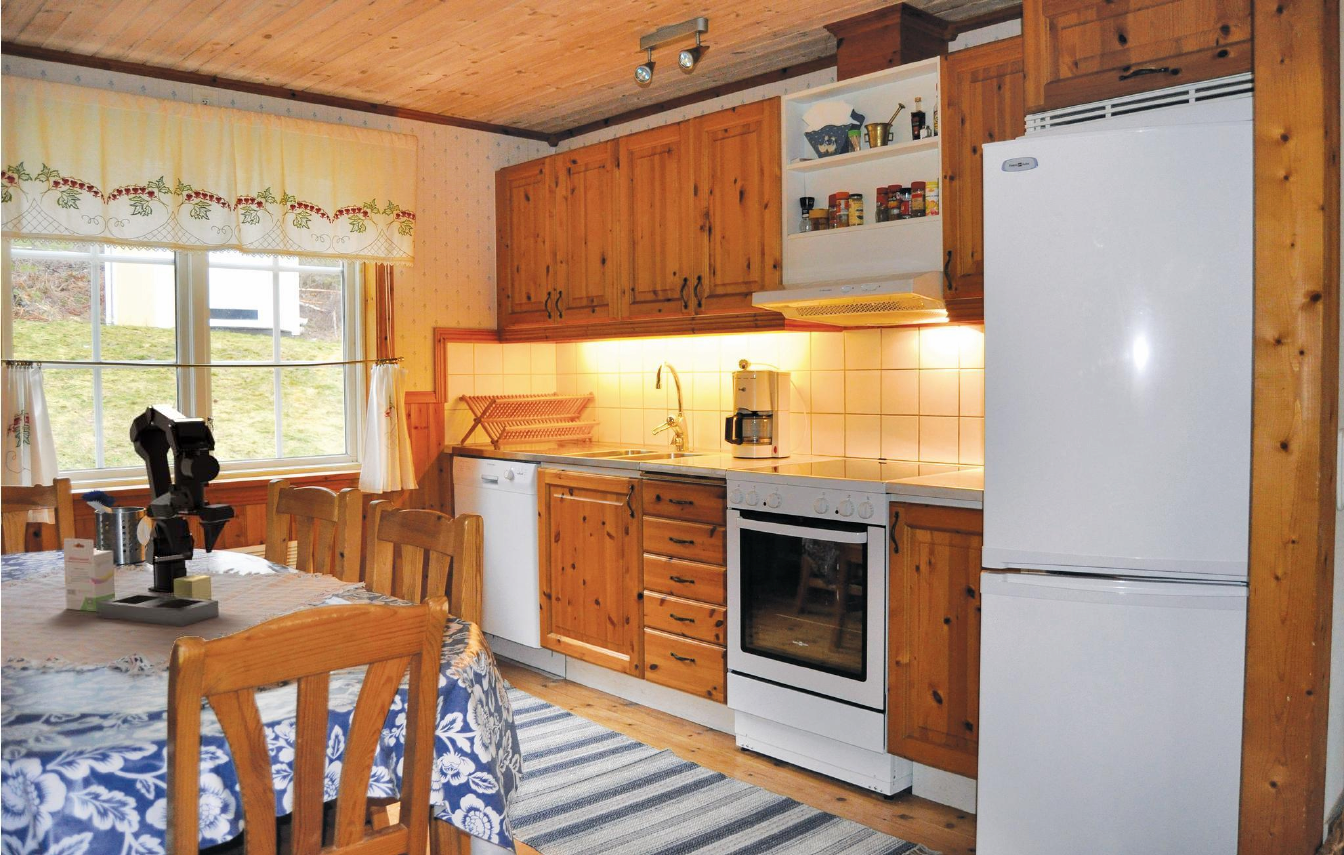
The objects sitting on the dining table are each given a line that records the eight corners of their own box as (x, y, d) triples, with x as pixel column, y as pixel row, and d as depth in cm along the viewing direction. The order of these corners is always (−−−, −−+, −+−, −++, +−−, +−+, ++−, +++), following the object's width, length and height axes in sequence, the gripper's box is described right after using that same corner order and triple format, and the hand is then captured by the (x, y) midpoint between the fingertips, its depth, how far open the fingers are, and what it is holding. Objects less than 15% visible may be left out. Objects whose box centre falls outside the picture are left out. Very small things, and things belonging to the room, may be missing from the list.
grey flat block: (97, 617, 200) (97, 602, 200) (136, 607, 208) (135, 592, 208) (182, 626, 192) (181, 611, 192) (218, 615, 200) (218, 600, 200)
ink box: (117, 606, 209) (114, 535, 208) (96, 612, 204) (93, 539, 203) (85, 603, 212) (82, 534, 211) (64, 609, 207) (61, 537, 206)
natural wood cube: (174, 602, 212) (173, 579, 212) (193, 597, 217) (192, 574, 217) (192, 604, 211) (191, 580, 210) (211, 599, 215) (210, 576, 215)
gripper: (123, 480, 208) (126, 555, 209) (193, 484, 202) (195, 561, 203) (167, 475, 218) (170, 546, 219) (235, 478, 212) (237, 551, 213)
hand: (191, 551), depth 213 cm, fingers open, 9 cm apart
